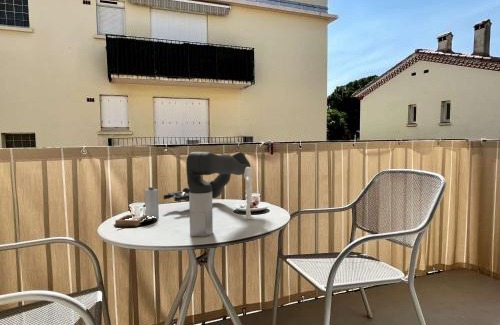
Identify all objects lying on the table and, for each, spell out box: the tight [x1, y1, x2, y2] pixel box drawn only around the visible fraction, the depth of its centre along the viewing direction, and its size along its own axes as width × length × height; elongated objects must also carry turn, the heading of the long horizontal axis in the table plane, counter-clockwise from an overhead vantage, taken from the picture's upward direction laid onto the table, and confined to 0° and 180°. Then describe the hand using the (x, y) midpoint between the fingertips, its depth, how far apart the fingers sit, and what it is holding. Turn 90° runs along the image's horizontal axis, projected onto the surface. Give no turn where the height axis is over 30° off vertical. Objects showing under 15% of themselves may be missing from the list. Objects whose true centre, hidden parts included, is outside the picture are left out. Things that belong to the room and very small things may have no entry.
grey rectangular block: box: [143, 186, 160, 219], centre depth 151 cm, size 4×4×15 cm
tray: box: [114, 214, 147, 227], centre depth 142 cm, size 10×10×2 cm
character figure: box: [243, 166, 255, 220], centre depth 148 cm, size 24×5×25 cm, turn 1°
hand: (169, 198), depth 159 cm, fingers open, 8 cm apart
